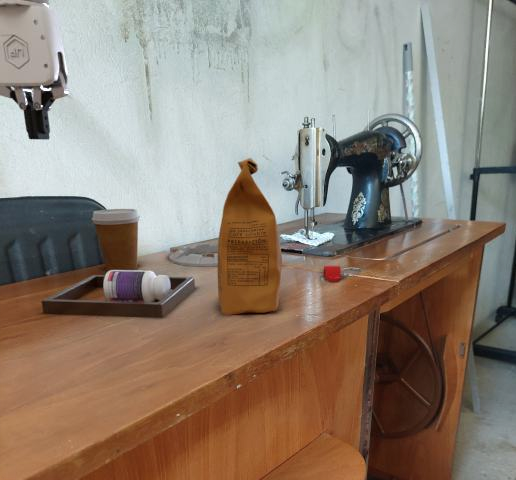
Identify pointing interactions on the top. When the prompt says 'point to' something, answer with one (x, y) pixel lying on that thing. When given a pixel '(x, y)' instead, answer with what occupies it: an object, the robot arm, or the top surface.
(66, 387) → the top surface
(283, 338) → the top surface
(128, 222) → the disposable coffee cup
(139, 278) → the pill bottle
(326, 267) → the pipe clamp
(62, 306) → the walnut frame
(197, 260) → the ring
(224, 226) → the coffee package
